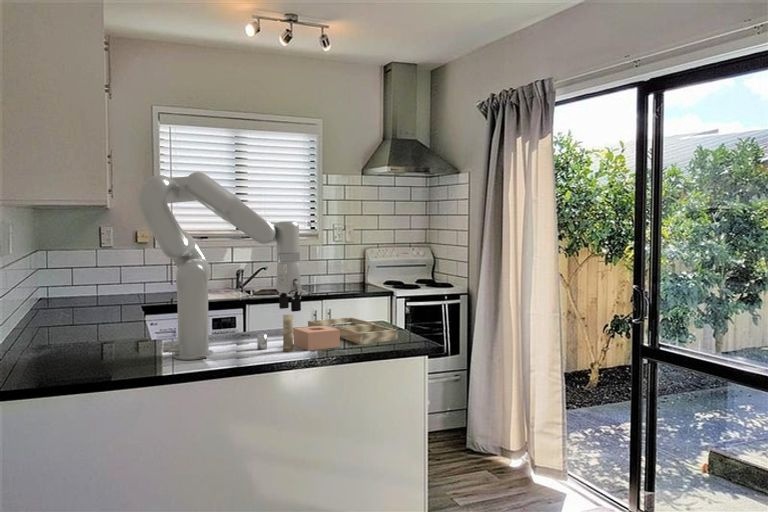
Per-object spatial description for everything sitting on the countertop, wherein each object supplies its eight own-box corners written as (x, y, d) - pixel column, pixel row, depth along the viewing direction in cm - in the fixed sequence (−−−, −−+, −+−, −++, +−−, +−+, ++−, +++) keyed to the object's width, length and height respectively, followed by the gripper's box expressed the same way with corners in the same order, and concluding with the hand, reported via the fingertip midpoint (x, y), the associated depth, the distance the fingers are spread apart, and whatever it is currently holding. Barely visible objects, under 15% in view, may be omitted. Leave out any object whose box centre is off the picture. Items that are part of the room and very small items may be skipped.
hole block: (308, 350, 202) (308, 332, 202) (293, 345, 212) (293, 328, 212) (339, 347, 208) (339, 329, 208) (324, 341, 218) (324, 325, 218)
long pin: (285, 352, 199) (285, 316, 198) (281, 350, 202) (281, 315, 201) (294, 351, 201) (294, 315, 200) (290, 349, 203) (290, 314, 203)
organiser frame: (354, 345, 211) (354, 334, 211) (308, 330, 243) (307, 321, 243) (401, 340, 222) (401, 329, 222) (351, 326, 254) (351, 317, 254)
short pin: (259, 350, 202) (259, 335, 202) (256, 348, 205) (255, 334, 205) (268, 349, 204) (268, 334, 204) (264, 347, 207) (264, 333, 207)
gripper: (267, 258, 205) (269, 308, 206) (288, 259, 191) (290, 313, 191) (288, 257, 209) (289, 306, 210) (310, 258, 195) (311, 311, 195)
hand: (289, 309), depth 201 cm, fingers open, 9 cm apart
